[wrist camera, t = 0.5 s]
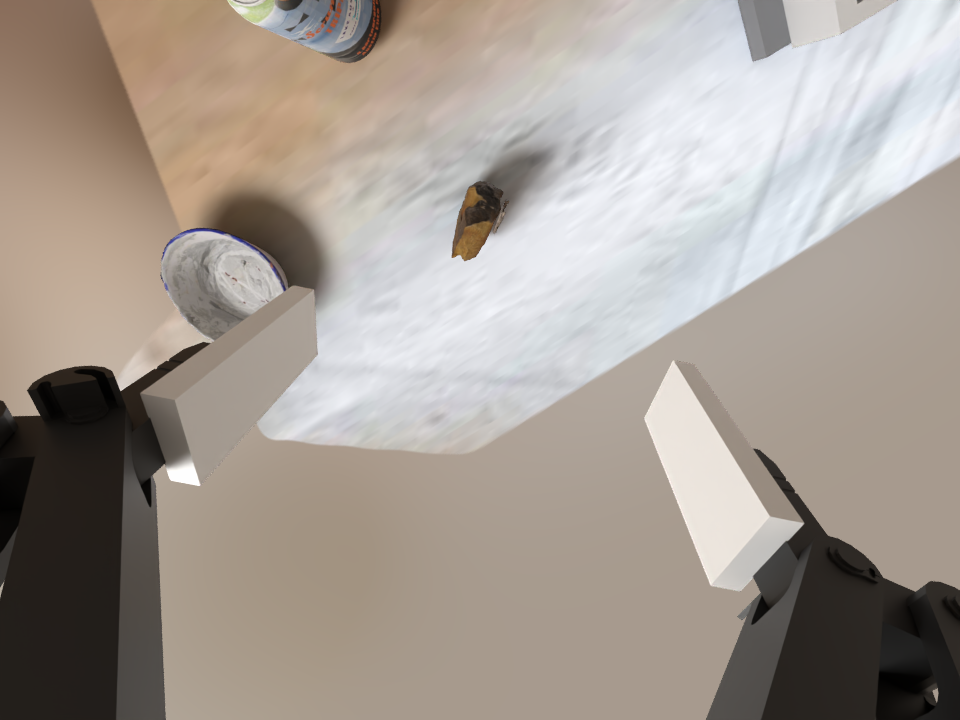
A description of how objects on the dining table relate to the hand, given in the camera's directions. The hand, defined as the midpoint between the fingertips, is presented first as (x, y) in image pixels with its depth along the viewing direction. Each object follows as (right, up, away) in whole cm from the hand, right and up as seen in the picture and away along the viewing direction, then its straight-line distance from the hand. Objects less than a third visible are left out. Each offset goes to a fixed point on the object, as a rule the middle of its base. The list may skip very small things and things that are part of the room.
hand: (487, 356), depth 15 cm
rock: (0, +15, +23) cm, 27 cm away
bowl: (-25, +9, +29) cm, 39 cm away
